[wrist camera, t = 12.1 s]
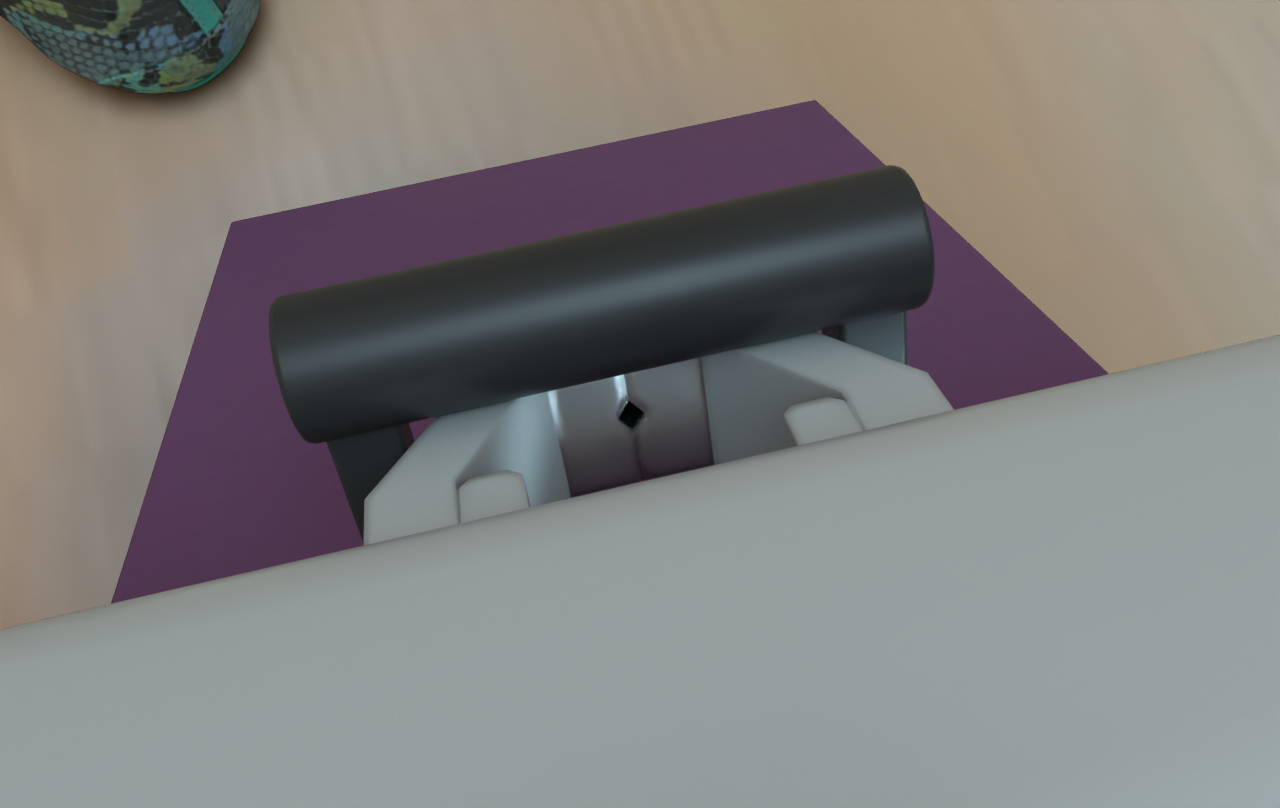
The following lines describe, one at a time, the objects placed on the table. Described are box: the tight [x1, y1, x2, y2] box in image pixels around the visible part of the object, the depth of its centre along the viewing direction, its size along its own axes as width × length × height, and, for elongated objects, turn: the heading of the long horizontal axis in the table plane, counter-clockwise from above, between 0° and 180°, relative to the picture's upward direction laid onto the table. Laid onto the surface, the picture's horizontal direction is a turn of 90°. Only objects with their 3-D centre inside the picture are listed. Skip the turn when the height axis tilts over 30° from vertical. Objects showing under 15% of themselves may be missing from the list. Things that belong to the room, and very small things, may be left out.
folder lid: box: [111, 100, 1108, 604], centre depth 17 cm, size 18×14×6 cm
